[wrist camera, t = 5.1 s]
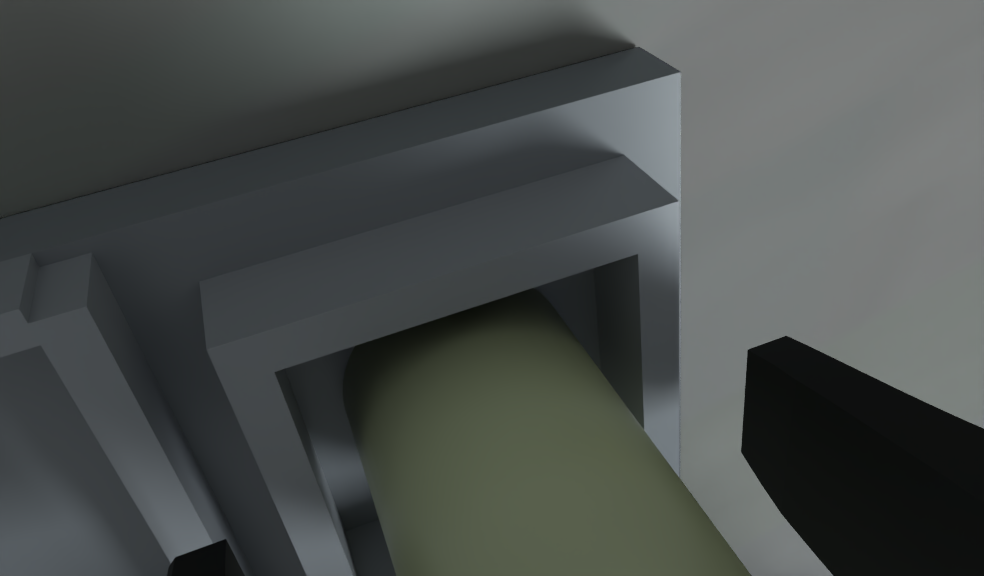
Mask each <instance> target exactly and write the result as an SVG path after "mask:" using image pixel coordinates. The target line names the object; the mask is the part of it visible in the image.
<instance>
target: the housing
mask: <svg viewBox="0 0 984 576" xmlns="http://www.w3.org/2000/svg"><path fill="white" fill-rule="evenodd" d="M531 288H534V289H536V290H537V291H539V292H540V293H541V294H542V295H543V296H544V297H545V298H546V299H548V300H549V302H550V303H551V304H552V306H553V307H554V308H555V310H556V311H557V313H558V314H559V315H560V317H561V318H562V319H563V321H564V322H565V323H566V325H567V326H568V327H569V329H570V330H571V332H572V333H573V334H574V336H575V337H576V338H577V340H578V341H579V342H580V344H581V345H582V346H583V348H584V349H585V351H586V352H587V353H588V355H589V356H590V357H591V359H592V360H593V361H594V363H595V364H596V365H597V367H598V368H599V370H600V371H601V372H602V374H603V375H604V376H605V378H606V379H607V380H608V382H609V383H610V384H611V386H612V387H613V389H614V390H615V391H616V393H617V394H618V395H619V397H620V398H621V399H622V401H623V402H624V403H625V405H626V406H627V408H628V409H629V410H630V412H631V413H632V414H633V416H634V417H635V418H636V420H637V421H638V423H639V424H640V425H641V427H642V428H643V429H644V431H645V432H646V433H647V435H648V436H649V437H650V439H651V440H652V442H653V443H654V444H655V446H656V447H657V448H658V450H659V451H660V452H661V454H662V455H663V456H664V458H665V459H666V461H667V462H668V463H669V465H670V466H671V467H672V469H673V470H674V471H675V473H676V474H677V475H678V477H679V478H680V342H681V72H680V71H679V70H677V69H675V68H674V67H672V66H670V65H669V64H667V63H665V62H664V61H662V60H660V59H659V58H657V57H655V56H654V55H652V54H650V53H649V52H647V51H645V50H644V49H642V48H640V47H637V48H633V49H629V50H625V51H622V52H618V53H614V54H611V55H607V56H603V57H599V58H596V59H592V60H588V61H585V62H581V63H577V64H573V65H570V66H566V67H562V68H559V69H555V70H551V71H547V72H544V73H540V74H536V75H533V76H529V77H525V78H521V79H518V80H514V81H510V82H507V83H503V84H499V85H495V86H492V87H488V88H484V89H481V90H477V91H473V92H469V93H466V94H462V95H458V96H454V97H451V98H447V99H443V100H440V101H436V102H432V103H428V104H425V105H421V106H417V107H414V108H410V109H406V110H402V111H399V112H395V113H391V114H388V115H384V116H380V117H376V118H373V119H369V120H365V121H362V122H358V123H354V124H350V125H347V126H343V127H339V128H336V129H332V130H328V131H324V132H321V133H317V134H313V135H310V136H306V137H302V138H298V139H295V140H291V141H287V142H284V143H280V144H276V145H272V146H269V147H265V148H261V149H257V150H254V151H250V152H246V153H243V154H239V155H235V156H231V157H228V158H224V159H220V160H217V161H213V162H209V163H205V164H202V165H198V166H194V167H191V168H187V169H183V170H179V171H176V172H172V173H168V174H165V175H161V176H157V177H153V178H150V179H146V180H142V181H139V182H135V183H131V184H127V185H124V186H120V187H116V188H113V189H109V190H105V191H101V192H98V193H94V194H90V195H87V196H83V197H79V198H75V199H72V200H68V201H64V202H61V203H57V204H53V205H49V206H46V207H42V208H38V209H34V210H31V211H27V212H23V213H20V214H16V215H12V216H8V217H5V218H1V219H0V576H167V573H168V568H169V566H170V564H171V563H172V561H173V560H174V558H175V557H177V556H180V555H183V554H185V553H188V552H191V551H194V550H196V549H199V548H202V547H205V546H207V545H210V544H213V543H216V542H218V541H221V540H224V539H226V540H227V542H228V544H229V546H230V548H231V549H232V551H233V553H234V555H235V557H236V559H237V561H238V563H239V565H240V567H241V569H242V571H243V573H244V575H245V576H396V573H395V570H394V566H393V563H392V560H391V557H390V553H389V550H388V547H387V544H386V540H385V537H384V534H383V531H382V527H381V524H380V521H379V518H378V514H377V511H376V508H375V505H374V501H373V498H372V495H371V492H370V488H369V485H368V482H367V479H366V475H365V472H364V469H363V466H362V462H361V459H360V456H359V453H358V449H357V446H356V443H355V440H354V436H353V433H352V430H351V427H350V423H349V420H348V417H347V414H346V410H345V407H344V400H343V379H344V374H345V369H346V366H347V363H348V360H349V357H350V355H351V353H352V351H353V349H354V347H355V346H356V345H359V344H362V343H365V342H368V341H371V340H374V339H378V338H381V337H384V336H387V335H390V334H393V333H396V332H399V331H402V330H405V329H408V328H411V327H414V326H418V325H421V324H424V323H427V322H430V321H433V320H436V319H439V318H442V317H445V316H448V315H451V314H454V313H458V312H461V311H464V310H467V309H470V308H473V307H476V306H479V305H482V304H485V303H488V302H491V301H494V300H497V299H501V298H504V297H507V296H510V295H513V294H516V293H519V292H522V291H525V290H528V289H531Z"/></svg>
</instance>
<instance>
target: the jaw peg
mask: <svg viewBox="0 0 984 576" xmlns="http://www.w3.org/2000/svg"><path fill="white" fill-rule="evenodd" d="M343 400H344V407H345V410H346V414H347V417H348V420H349V423H350V427H351V430H352V433H353V436H354V440H355V443H356V446H357V449H358V453H359V456H360V459H361V462H362V466H363V469H364V472H365V475H366V479H367V482H368V485H369V488H370V492H371V495H372V498H373V501H374V505H375V508H376V511H377V514H378V518H379V521H380V524H381V527H382V531H383V534H384V537H385V540H386V544H387V547H388V550H389V553H390V557H391V560H392V563H393V566H394V570H395V573H396V576H751V575H750V573H749V572H748V570H747V569H746V568H745V566H744V565H743V564H742V562H741V561H740V560H739V558H738V557H737V556H736V554H735V553H734V551H733V550H732V549H731V547H730V546H729V545H728V543H727V542H726V541H725V539H724V538H723V537H722V535H721V534H720V532H719V531H718V530H717V528H716V527H715V526H714V524H713V523H712V522H711V520H710V519H709V518H708V516H707V515H706V513H705V512H704V511H703V509H702V508H701V507H700V505H699V504H698V503H697V501H696V500H695V499H694V497H693V496H692V494H691V493H690V492H689V490H688V489H687V488H686V486H685V485H684V484H683V482H682V481H681V480H680V478H679V477H678V475H677V474H676V473H675V471H674V470H673V469H672V467H671V466H670V465H669V463H668V462H667V461H666V459H665V458H664V456H663V455H662V454H661V452H660V451H659V450H658V448H657V447H656V446H655V444H654V443H653V442H652V440H651V439H650V437H649V436H648V435H647V433H646V432H645V431H644V429H643V428H642V427H641V425H640V424H639V423H638V421H637V420H636V418H635V417H634V416H633V414H632V413H631V412H630V410H629V409H628V408H627V406H626V405H625V403H624V402H623V401H622V399H621V398H620V397H619V395H618V394H617V393H616V391H615V390H614V389H613V387H612V386H611V384H610V383H609V382H608V380H607V379H606V378H605V376H604V375H603V374H602V372H601V371H600V370H599V368H598V367H597V365H596V364H595V363H594V361H593V360H592V359H591V357H590V356H589V355H588V353H587V352H586V351H585V349H584V348H583V346H582V345H581V344H580V342H579V341H578V340H577V338H576V337H575V336H574V334H573V333H572V332H571V330H570V329H569V327H568V326H567V325H566V323H565V322H564V321H563V319H562V318H561V317H560V315H559V314H558V313H557V311H556V310H555V308H554V307H553V306H552V304H551V303H550V302H549V300H548V299H546V298H545V297H544V296H543V295H542V294H541V293H540V292H539V291H537V290H536V289H534V288H531V289H528V290H525V291H522V292H519V293H516V294H513V295H510V296H507V297H504V298H501V299H497V300H494V301H491V302H488V303H485V304H482V305H479V306H476V307H473V308H470V309H467V310H464V311H461V312H458V313H454V314H451V315H448V316H445V317H442V318H439V319H436V320H433V321H430V322H427V323H424V324H421V325H418V326H414V327H411V328H408V329H405V330H402V331H399V332H396V333H393V334H390V335H387V336H384V337H381V338H378V339H374V340H371V341H368V342H365V343H362V344H359V345H356V346H355V347H354V349H353V351H352V353H351V355H350V357H349V360H348V363H347V366H346V369H345V374H344V379H343Z"/></svg>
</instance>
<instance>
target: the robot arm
mask: <svg viewBox="0 0 984 576" xmlns="http://www.w3.org/2000/svg"><path fill="white" fill-rule="evenodd" d="M741 453H742V454H743V456H744V457H745V459H746V460H747V462H748V464H749V465H750V467H751V468H752V470H753V471H754V473H755V475H756V476H757V478H758V479H759V481H760V483H761V484H762V486H763V487H764V489H765V490H766V492H767V493H768V495H769V496H770V498H771V499H772V500H773V502H774V503H775V505H776V506H777V508H778V509H779V511H780V512H781V514H782V515H783V516H784V517H785V519H786V520H787V521H788V522H789V523H790V525H791V526H792V527H793V528H794V530H795V531H796V532H797V533H798V534H799V535H800V537H801V538H802V539H803V540H804V541H805V543H806V544H807V545H808V546H809V547H810V549H811V550H812V551H813V552H814V553H815V555H816V556H817V557H818V558H819V559H820V560H821V562H822V563H823V564H824V565H825V566H826V567H827V569H828V570H829V571H830V572H831V573H832V574H833V576H984V429H983V428H981V427H979V426H976V425H974V424H972V423H969V422H967V421H965V420H963V419H960V418H958V417H956V416H954V415H952V414H949V413H947V412H945V411H943V410H941V409H938V408H936V407H934V406H932V405H930V404H928V403H925V402H923V401H921V400H919V399H917V398H915V397H913V396H911V395H908V394H906V393H904V392H902V391H900V390H898V389H896V388H894V387H892V386H890V385H888V384H886V383H883V382H881V381H879V380H877V379H875V378H873V377H871V376H869V375H867V374H865V373H863V372H861V371H859V370H857V369H855V368H853V367H851V366H849V365H846V364H844V363H842V362H840V361H838V360H836V359H834V358H832V357H830V356H828V355H826V354H824V353H822V352H820V351H818V350H816V349H813V348H811V347H809V346H807V345H805V344H803V343H801V342H798V341H796V340H794V339H792V338H790V337H787V336H785V337H782V338H779V339H776V340H773V341H771V342H768V343H765V344H762V345H760V346H757V347H754V348H751V349H749V350H748V356H747V371H746V386H745V402H744V417H743V432H742V448H741ZM167 576H245V575H244V573H243V571H242V569H241V567H240V565H239V563H238V561H237V559H236V557H235V555H234V553H233V551H232V549H231V548H230V546H229V544H228V542H227V540H226V539H224V540H221V541H218V542H216V543H213V544H210V545H207V546H205V547H202V548H199V549H196V550H194V551H191V552H188V553H185V554H183V555H180V556H177V557H175V558H174V560H173V561H172V563H171V564H170V566H169V568H168V573H167Z"/></svg>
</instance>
